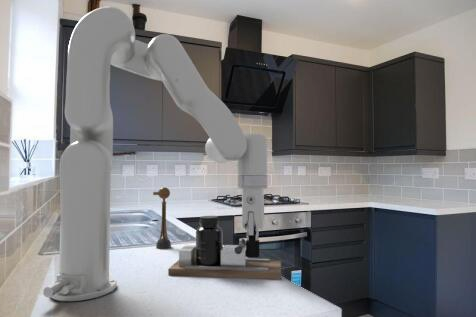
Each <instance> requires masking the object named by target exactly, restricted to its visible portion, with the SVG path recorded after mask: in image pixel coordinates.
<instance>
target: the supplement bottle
mask: <svg viewBox="0 0 476 317" xmlns="http://www.w3.org/2000/svg"><path fill="white" fill-rule="evenodd" d="M219 223H220V221H219V216H218V215H202V216H199V225H200V226H199V227H198V228H196V231H195V245H196V264H197V265H198V266H220V265H221V249H222V248H223V247H224V246H223V245H224V244H223V243H224V242H223V241H224V240H223V239H224V237H223V236H224V235H223V233H224V232H223V228H221V227H220V226H219Z"/></svg>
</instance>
